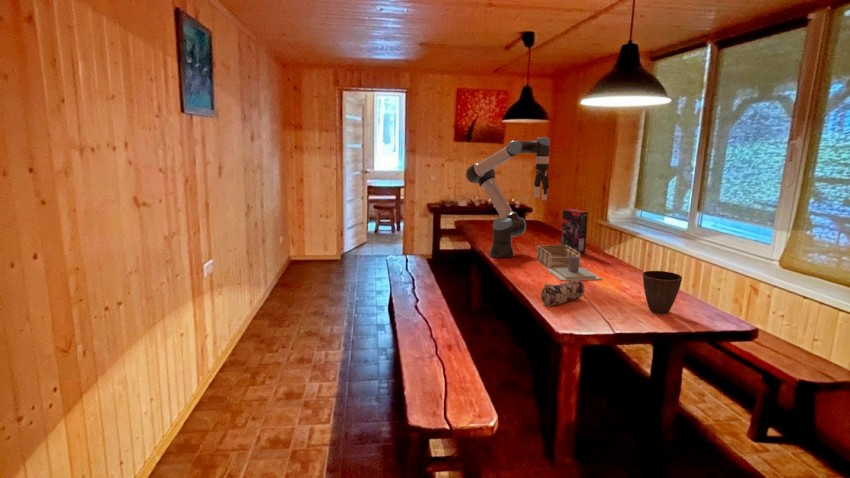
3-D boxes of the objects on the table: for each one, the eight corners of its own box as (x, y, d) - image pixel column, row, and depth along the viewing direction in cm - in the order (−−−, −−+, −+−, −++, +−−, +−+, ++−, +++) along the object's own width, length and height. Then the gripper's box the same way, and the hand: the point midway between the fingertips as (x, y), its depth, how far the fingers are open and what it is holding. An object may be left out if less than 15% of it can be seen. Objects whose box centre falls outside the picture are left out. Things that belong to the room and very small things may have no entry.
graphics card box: (559, 249, 322) (562, 208, 317) (567, 248, 325) (570, 208, 319) (577, 254, 307) (580, 212, 301) (586, 253, 310) (588, 211, 304)
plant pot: (640, 314, 201) (644, 278, 198) (638, 303, 214) (641, 269, 211) (680, 319, 196) (684, 281, 192) (675, 307, 209) (679, 272, 206)
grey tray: (560, 280, 249) (561, 279, 249) (546, 269, 270) (546, 268, 270) (601, 279, 251) (601, 278, 251) (584, 268, 273) (584, 267, 272)
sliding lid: (552, 268, 270) (553, 253, 268) (579, 268, 271) (580, 252, 269) (565, 279, 250) (566, 261, 248) (595, 278, 252) (596, 261, 250)
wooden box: (536, 259, 294) (537, 245, 292) (565, 258, 295) (565, 244, 293) (549, 268, 272) (549, 253, 270) (579, 268, 274) (580, 253, 272)
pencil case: (554, 309, 208) (555, 287, 206) (539, 303, 215) (540, 282, 213) (585, 299, 220) (587, 279, 218) (570, 294, 227) (571, 275, 225)
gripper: (555, 164, 277) (553, 200, 281) (541, 162, 301) (539, 196, 306) (543, 164, 276) (541, 201, 281) (530, 162, 301) (528, 196, 305)
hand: (540, 198), depth 293 cm, fingers open, 13 cm apart
